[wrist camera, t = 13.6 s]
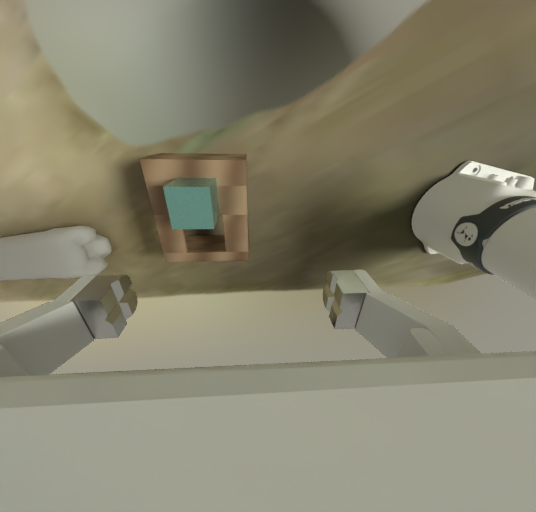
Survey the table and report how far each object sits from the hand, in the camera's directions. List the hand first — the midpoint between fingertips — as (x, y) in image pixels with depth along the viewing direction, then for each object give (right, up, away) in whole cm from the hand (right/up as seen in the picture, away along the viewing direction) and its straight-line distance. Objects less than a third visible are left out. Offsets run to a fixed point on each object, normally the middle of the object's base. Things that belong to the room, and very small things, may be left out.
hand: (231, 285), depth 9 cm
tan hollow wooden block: (-9, +11, +31) cm, 34 cm away
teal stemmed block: (-9, +13, +28) cm, 32 cm away
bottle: (-44, +3, +34) cm, 55 cm away
